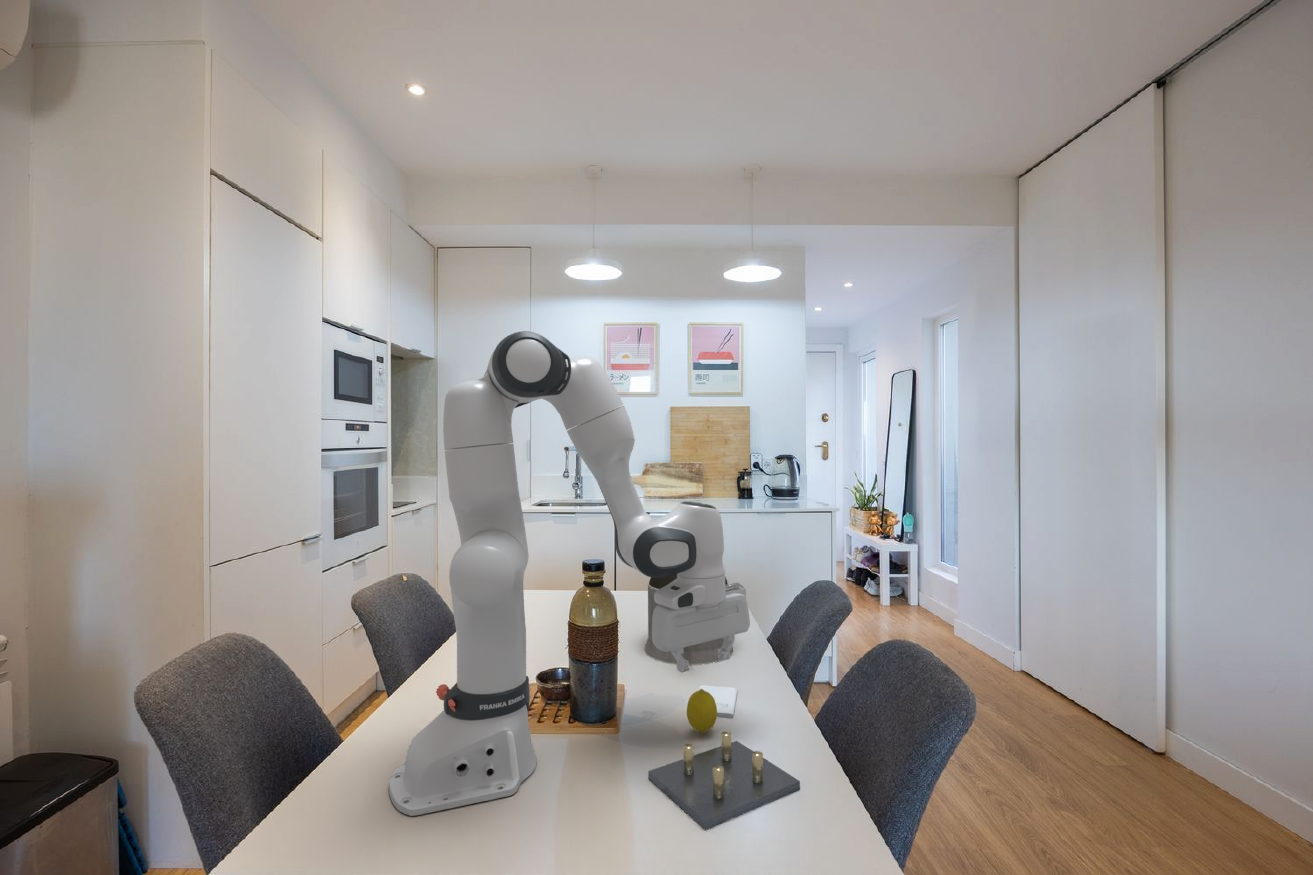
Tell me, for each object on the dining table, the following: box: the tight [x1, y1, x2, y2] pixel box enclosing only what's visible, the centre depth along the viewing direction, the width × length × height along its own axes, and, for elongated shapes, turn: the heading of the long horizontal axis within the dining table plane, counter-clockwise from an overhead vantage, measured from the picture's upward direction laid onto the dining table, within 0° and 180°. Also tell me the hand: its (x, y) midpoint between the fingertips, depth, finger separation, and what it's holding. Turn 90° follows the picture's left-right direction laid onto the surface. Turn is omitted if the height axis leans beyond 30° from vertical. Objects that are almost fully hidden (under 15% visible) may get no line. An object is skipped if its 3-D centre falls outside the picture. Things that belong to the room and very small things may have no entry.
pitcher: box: [643, 574, 735, 666], centre depth 150 cm, size 23×32×25 cm
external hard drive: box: [697, 684, 738, 719], centre depth 121 cm, size 2×8×12 cm
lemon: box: [686, 689, 718, 735], centre depth 108 cm, size 6×6×8 cm
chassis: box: [647, 731, 801, 831], centre depth 92 cm, size 18×15×5 cm
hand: (704, 664), depth 109 cm, fingers open, 8 cm apart
